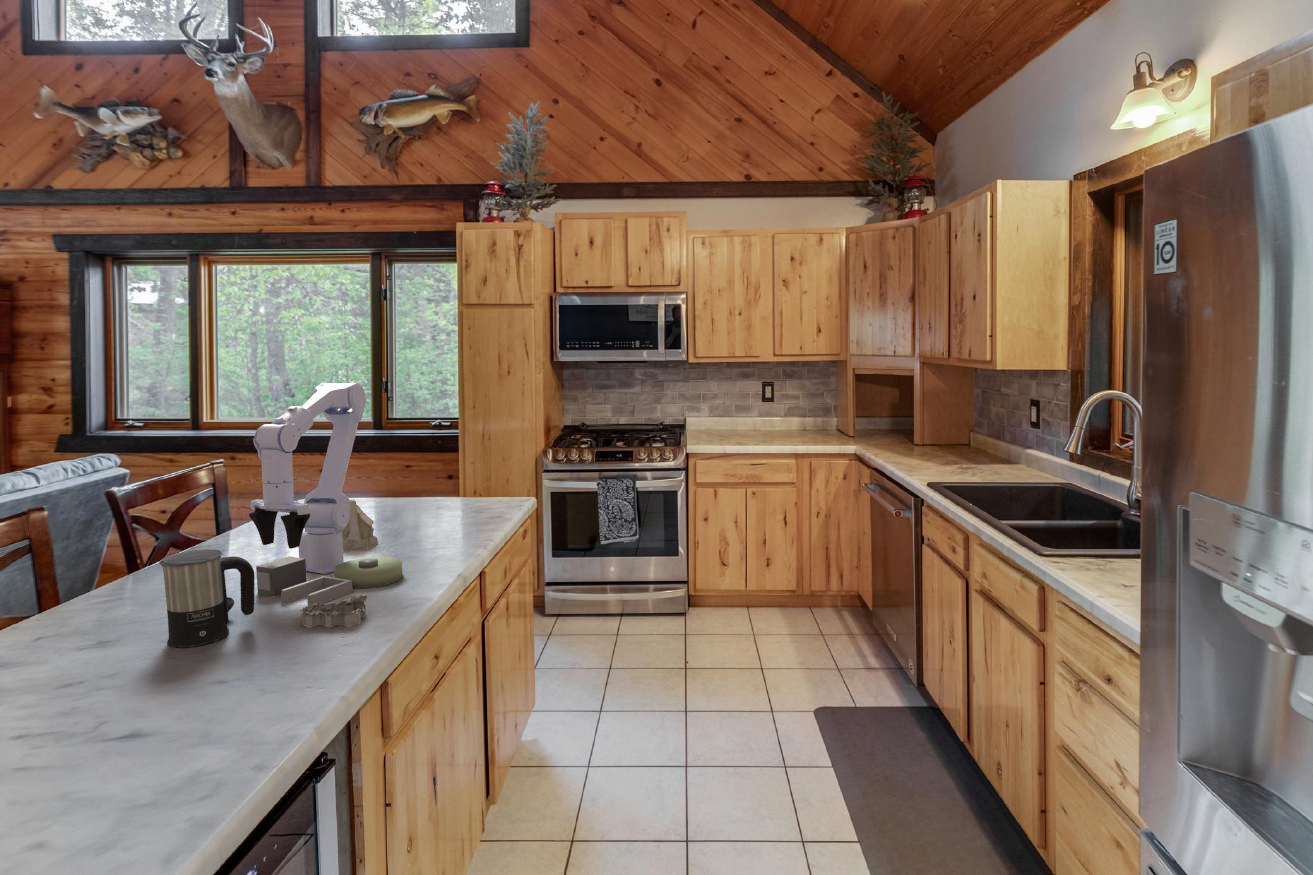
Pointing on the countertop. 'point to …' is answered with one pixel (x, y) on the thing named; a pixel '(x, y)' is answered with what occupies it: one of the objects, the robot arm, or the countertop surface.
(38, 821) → the countertop surface
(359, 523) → the ceramic cottage
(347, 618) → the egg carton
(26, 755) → the countertop surface
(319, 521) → the robot arm
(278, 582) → the grey block with ledge
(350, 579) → the green disc with bracket
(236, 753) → the countertop surface
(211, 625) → the milk frother
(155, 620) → the countertop surface
